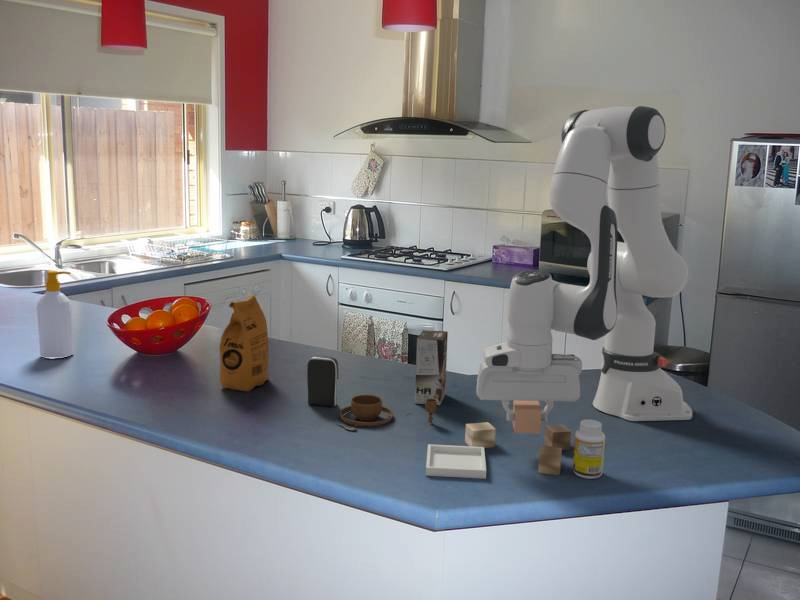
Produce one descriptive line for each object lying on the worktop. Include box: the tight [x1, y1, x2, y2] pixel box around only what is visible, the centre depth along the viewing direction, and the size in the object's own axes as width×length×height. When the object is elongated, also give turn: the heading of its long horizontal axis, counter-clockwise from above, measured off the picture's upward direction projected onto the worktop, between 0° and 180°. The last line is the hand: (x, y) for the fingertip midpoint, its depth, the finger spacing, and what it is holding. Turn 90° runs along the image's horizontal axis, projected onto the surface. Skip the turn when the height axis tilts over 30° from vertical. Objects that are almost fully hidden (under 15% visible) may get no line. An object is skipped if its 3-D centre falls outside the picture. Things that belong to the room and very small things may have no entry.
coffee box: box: [414, 329, 449, 406], centre depth 186 cm, size 9×6×16 cm
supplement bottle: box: [572, 419, 606, 480], centre depth 146 cm, size 6×6×10 cm
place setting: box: [339, 394, 437, 432], centre depth 171 cm, size 18×20×6 cm
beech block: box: [464, 421, 496, 449], centre depth 160 cm, size 5×4×4 cm
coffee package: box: [219, 294, 269, 392], centre depth 193 cm, size 10×12×22 cm
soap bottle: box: [36, 270, 75, 357], centre depth 213 cm, size 9×9×24 cm
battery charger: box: [306, 355, 339, 408], centre depth 181 cm, size 7×4×11 cm, turn 75°
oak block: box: [537, 445, 563, 476], centre depth 148 cm, size 4×4×4 cm
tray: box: [425, 443, 487, 480], centre depth 150 cm, size 11×11×2 cm
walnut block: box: [544, 424, 572, 451], centre depth 160 cm, size 4×4×4 cm
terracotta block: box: [512, 400, 542, 435], centre depth 154 cm, size 5×5×5 cm
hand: (526, 420), depth 155 cm, fingers closed on terracotta block, 5 cm apart
